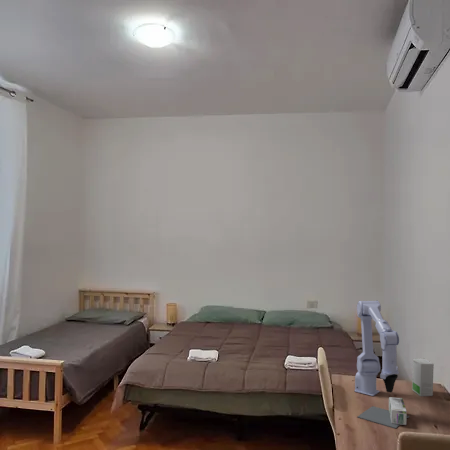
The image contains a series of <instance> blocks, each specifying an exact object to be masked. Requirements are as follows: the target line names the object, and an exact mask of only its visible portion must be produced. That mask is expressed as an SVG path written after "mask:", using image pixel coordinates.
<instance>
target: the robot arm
mask: <svg viewBox="0 0 450 450" xmlns="http://www.w3.org/2000/svg"><path fill="white" fill-rule="evenodd" d="M381 310H382V305H381V303H380V301H379V300H359V301H358V302H357V305H356V313H357V314H356V315H357V318H359V319H360V326H361V327H360V328H361V341H362V343H361V344H362V345H361V346H362V352H361V353H360V354H359V355H358V356H357V357H356V360H357V362H356V370H357V372H356V373H355V376H354V378H355V379H354V392H356V393H359V394H364V395H367V396H371V397H374V396H376V395H377V394H378V393H380V392H381V391H380V390H378V389H377V376H378V375H379V376H380V377H379V378H380V379H382V381H383V383H384V386H385V391H386V392H387V393H393V391H394V386H395V383H396V381H397V378H398V375H399V374H400V370H399V366H398V365H397V364H398V363H397V359H398V358H397V349H398V348H397V346H398V345H399V343H400V336H399V334H398V331H396V330H393V328H392V327H391V326H390V324H389V322H388V320H386V319H384V317H383V315H382V313H381ZM372 321H374V322H375V325H374V326H375V328H376V331H377V333H378V335H379V341H380V348H381V350H382V353H381V354H382V359H381V360H382V362H381V363H382V367H381V363H380V358H379V356H377V355H376V354H375V352H374V343H373V341H374V340H373V328H372V327H373V326H372V325H373V324H372ZM381 368H382V369H381ZM380 372H381V373H380ZM379 373H380V374H379Z"/></svg>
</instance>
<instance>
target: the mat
mask: <svg viewBox="0 0 450 450" xmlns="http://www.w3.org/2000/svg"><path fill="white" fill-rule="evenodd" d="M356 418H358V419H361V420H363V421H368V422H372V423H376V424H378V425H381V426H385V427H388V428H391V429H397V428H398V427H400V425H401V424H393V423H391V418H390V414H389V409H386V408H382V407H381V408H380V407H377V406H374V405H372V406H370V407H369V408H367V409H366V410H365V411H363V412H362V413H360V414H359V415H357V417H356ZM407 418H408V419H409V418H410V415H407V414H406V420H408V419H407Z"/></svg>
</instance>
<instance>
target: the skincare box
mask: <svg viewBox="0 0 450 450" xmlns="http://www.w3.org/2000/svg"><path fill="white" fill-rule="evenodd" d="M434 364H435V363H433V362H431V360H428V359H426V358H424V357H423V358H413V359H412V378H411V380H412V381H411V382H412V383H411V390H412V391H413V392H414V393H415V394H417V395H418V396H419V397H433V395H434V369H435V367H434Z"/></svg>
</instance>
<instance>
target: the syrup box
mask: <svg viewBox="0 0 450 450" xmlns="http://www.w3.org/2000/svg"><path fill="white" fill-rule="evenodd" d="M388 410H389V414H390V418H391V423H393V424H401V425H403V426H407V419H406V415H407V409H406V405H405V401H404V398H402V397H391V396H390V397H388Z"/></svg>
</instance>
